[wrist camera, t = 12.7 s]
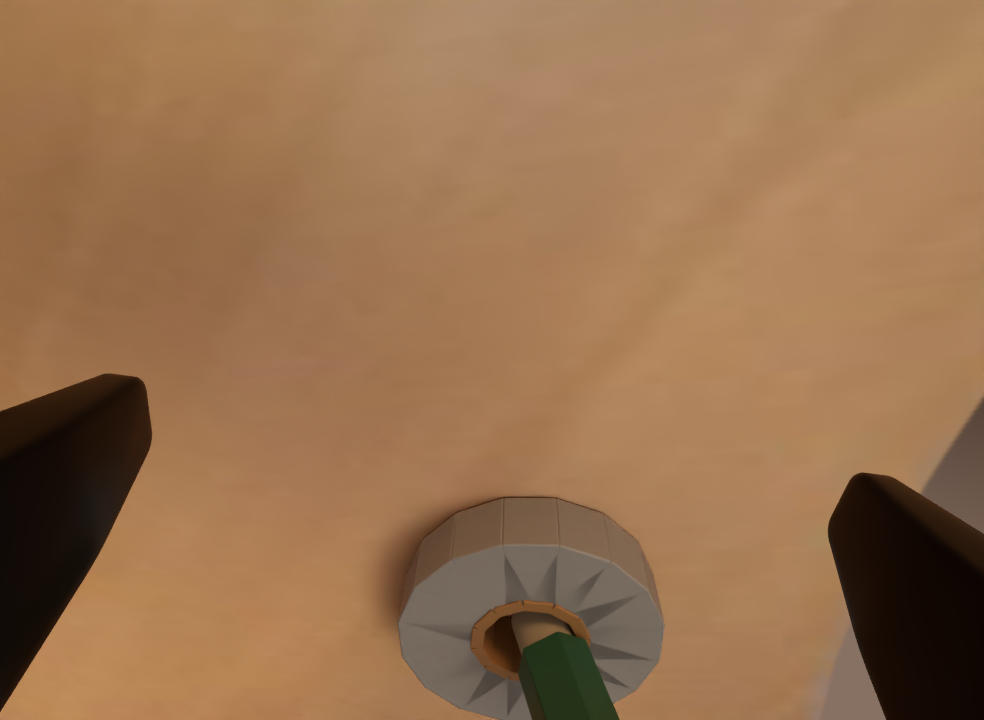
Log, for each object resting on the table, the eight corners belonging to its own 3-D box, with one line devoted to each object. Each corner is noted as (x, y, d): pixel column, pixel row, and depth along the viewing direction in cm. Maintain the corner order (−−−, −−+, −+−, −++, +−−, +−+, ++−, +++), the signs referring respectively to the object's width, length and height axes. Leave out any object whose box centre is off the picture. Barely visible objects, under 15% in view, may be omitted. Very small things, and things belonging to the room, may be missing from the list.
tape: (469, 690, 31) (466, 745, 29) (364, 540, 27) (350, 592, 25) (681, 636, 29) (695, 692, 27) (604, 464, 25) (612, 513, 22)
